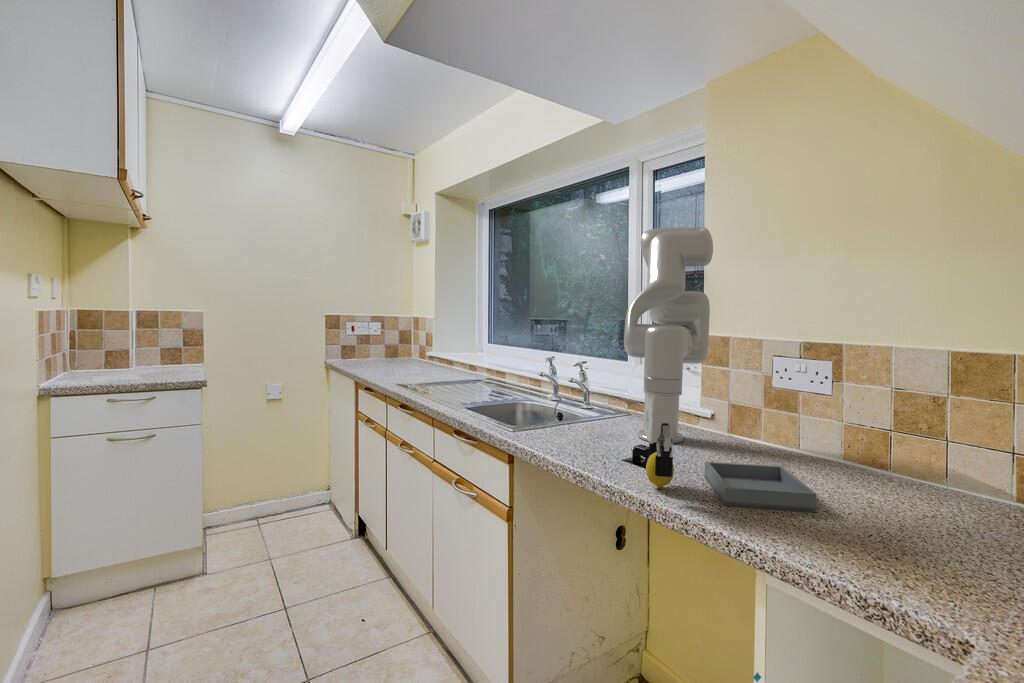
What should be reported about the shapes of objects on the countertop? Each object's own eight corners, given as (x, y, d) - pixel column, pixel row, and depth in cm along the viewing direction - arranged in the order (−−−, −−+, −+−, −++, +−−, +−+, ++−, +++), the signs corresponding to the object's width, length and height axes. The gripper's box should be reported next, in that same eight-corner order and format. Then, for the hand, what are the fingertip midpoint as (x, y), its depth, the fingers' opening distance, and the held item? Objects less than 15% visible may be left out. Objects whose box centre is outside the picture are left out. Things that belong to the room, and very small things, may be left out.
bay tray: (704, 476, 107) (705, 461, 107) (781, 481, 105) (782, 466, 105) (724, 505, 92) (725, 487, 91) (815, 512, 89) (816, 493, 89)
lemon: (678, 490, 99) (680, 452, 99) (659, 495, 96) (661, 456, 96) (658, 481, 104) (659, 445, 103) (639, 486, 101) (640, 448, 101)
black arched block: (673, 469, 114) (674, 450, 113) (653, 475, 109) (654, 456, 109) (632, 456, 124) (632, 438, 123) (612, 461, 120) (613, 443, 119)
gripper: (639, 380, 108) (637, 455, 109) (649, 391, 91) (646, 481, 91) (674, 381, 107) (671, 457, 107) (690, 393, 89) (687, 484, 90)
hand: (659, 468), depth 99 cm, fingers open, 9 cm apart
